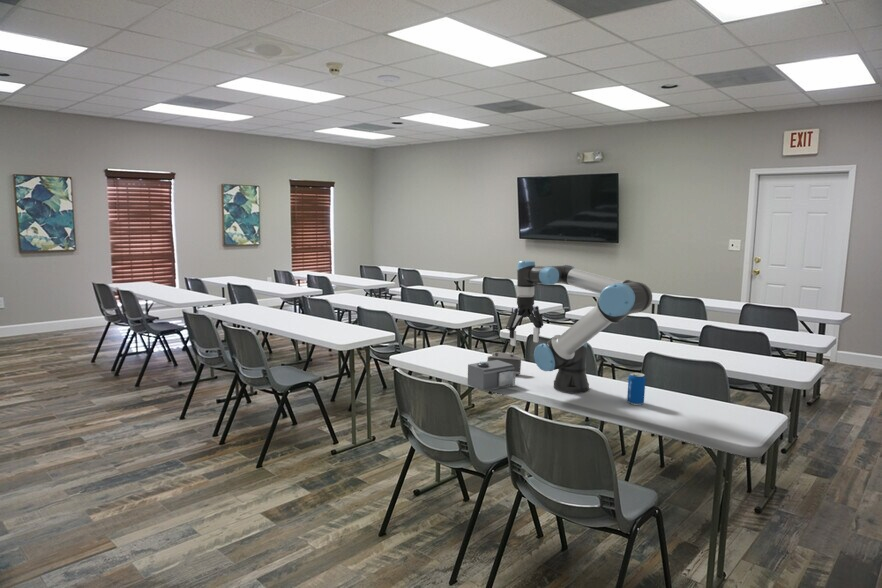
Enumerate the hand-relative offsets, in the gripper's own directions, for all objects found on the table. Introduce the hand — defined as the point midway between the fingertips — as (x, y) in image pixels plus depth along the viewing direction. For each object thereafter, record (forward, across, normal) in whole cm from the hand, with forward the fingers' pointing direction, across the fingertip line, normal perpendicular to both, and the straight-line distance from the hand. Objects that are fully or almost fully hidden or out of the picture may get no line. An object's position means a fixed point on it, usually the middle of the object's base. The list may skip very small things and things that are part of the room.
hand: (524, 343), depth 249 cm
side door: (+18, +9, -1) cm, 20 cm away
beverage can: (+20, -22, +43) cm, 52 cm away
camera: (+19, -6, -21) cm, 29 cm away
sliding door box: (+18, +12, -9) cm, 24 cm away
